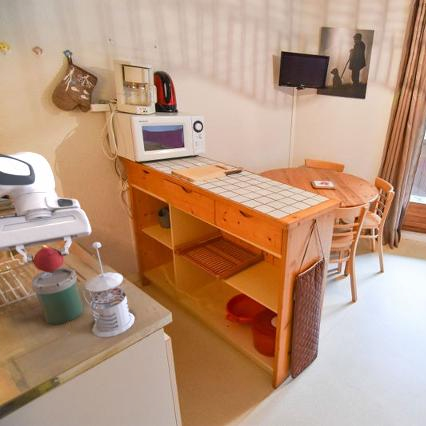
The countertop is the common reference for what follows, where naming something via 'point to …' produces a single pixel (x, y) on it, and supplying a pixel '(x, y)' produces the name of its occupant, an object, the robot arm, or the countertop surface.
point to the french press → (108, 303)
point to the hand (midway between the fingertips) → (48, 258)
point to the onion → (48, 259)
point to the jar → (58, 295)
